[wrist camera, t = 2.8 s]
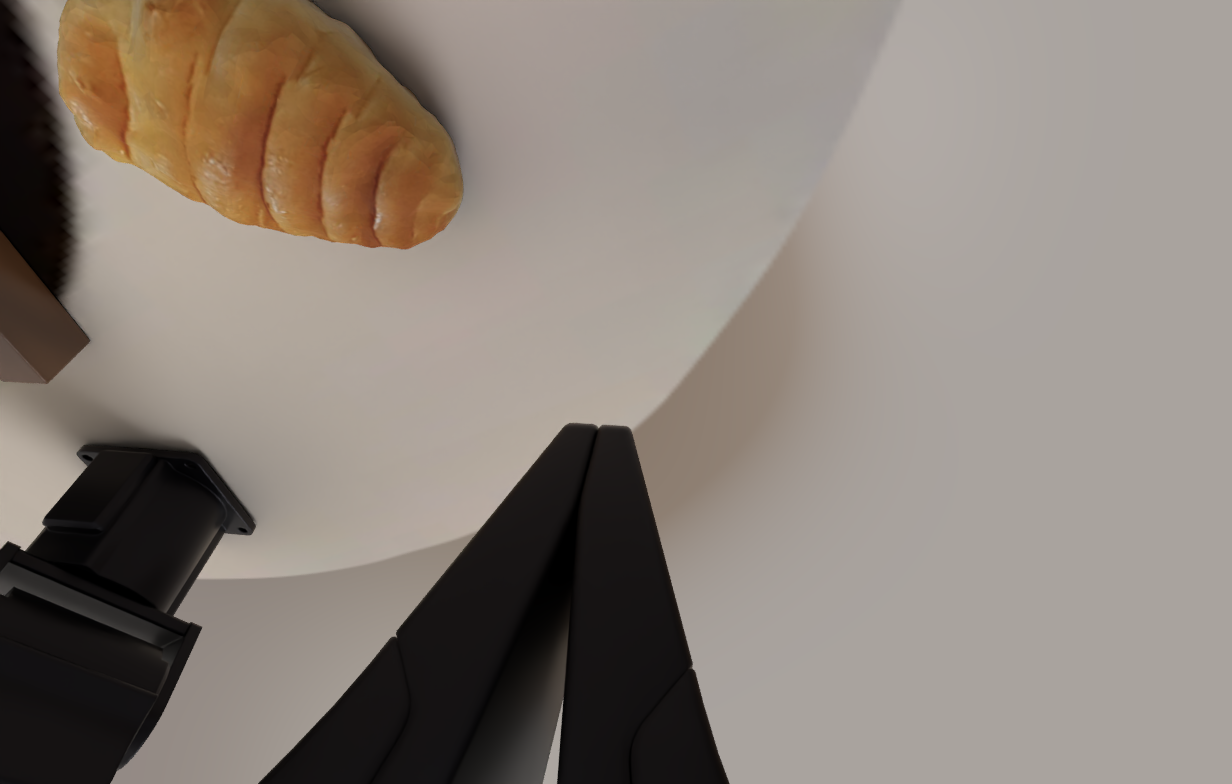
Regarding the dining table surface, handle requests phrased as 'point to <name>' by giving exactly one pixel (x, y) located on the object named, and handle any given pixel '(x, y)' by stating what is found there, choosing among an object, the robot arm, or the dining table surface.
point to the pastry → (260, 116)
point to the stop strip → (32, 324)
